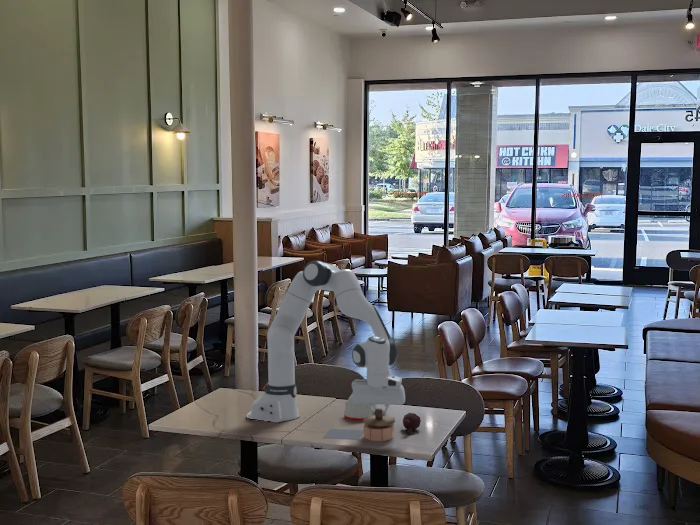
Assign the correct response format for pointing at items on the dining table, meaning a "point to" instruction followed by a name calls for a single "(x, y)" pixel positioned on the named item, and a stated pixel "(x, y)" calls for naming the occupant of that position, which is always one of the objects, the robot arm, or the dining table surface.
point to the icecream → (411, 422)
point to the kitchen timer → (356, 410)
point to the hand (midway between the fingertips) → (379, 415)
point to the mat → (344, 434)
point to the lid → (378, 419)
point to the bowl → (379, 432)
